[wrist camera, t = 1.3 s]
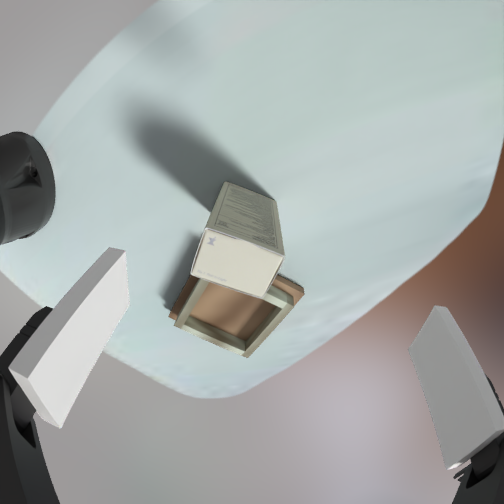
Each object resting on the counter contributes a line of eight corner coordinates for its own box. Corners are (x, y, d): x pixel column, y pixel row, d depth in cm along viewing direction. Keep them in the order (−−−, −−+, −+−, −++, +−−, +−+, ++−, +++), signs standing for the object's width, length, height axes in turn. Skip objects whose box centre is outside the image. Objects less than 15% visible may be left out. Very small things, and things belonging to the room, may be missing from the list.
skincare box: (211, 214, 33) (185, 275, 22) (225, 178, 31) (202, 225, 20) (264, 234, 34) (262, 302, 23) (280, 200, 32) (286, 257, 21)
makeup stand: (170, 311, 40) (164, 326, 37) (210, 239, 34) (205, 253, 32) (251, 348, 43) (250, 364, 40) (303, 288, 37) (306, 304, 34)
